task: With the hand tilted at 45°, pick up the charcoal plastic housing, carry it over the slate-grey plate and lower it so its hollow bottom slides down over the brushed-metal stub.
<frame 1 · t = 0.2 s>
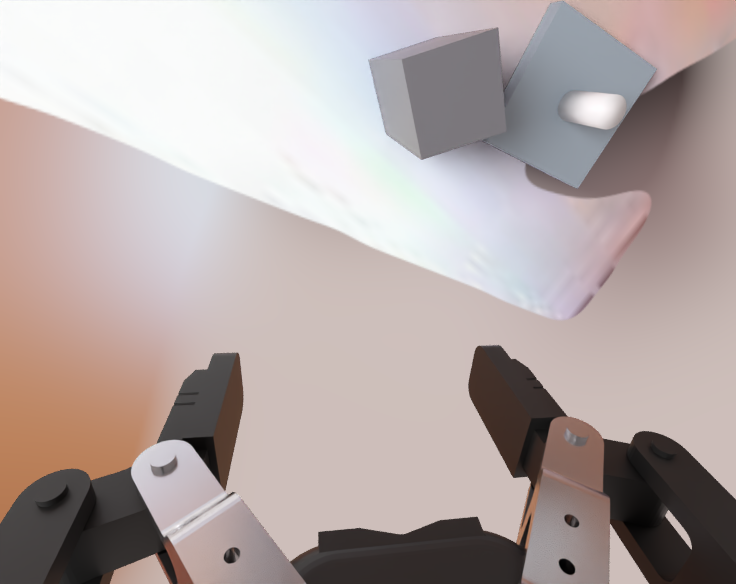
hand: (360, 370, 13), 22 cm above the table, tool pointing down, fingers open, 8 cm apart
stub base: (559, 104, 32), on the table
housing: (410, 87, 30), on the table
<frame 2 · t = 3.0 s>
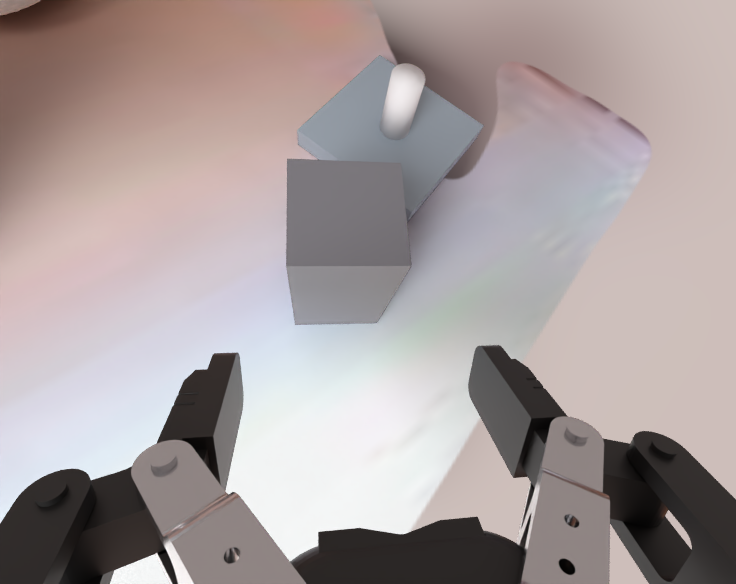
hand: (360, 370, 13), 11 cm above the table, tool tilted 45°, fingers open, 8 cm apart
stub base: (390, 141, 31), on the table
housing: (335, 285, 26), on the table
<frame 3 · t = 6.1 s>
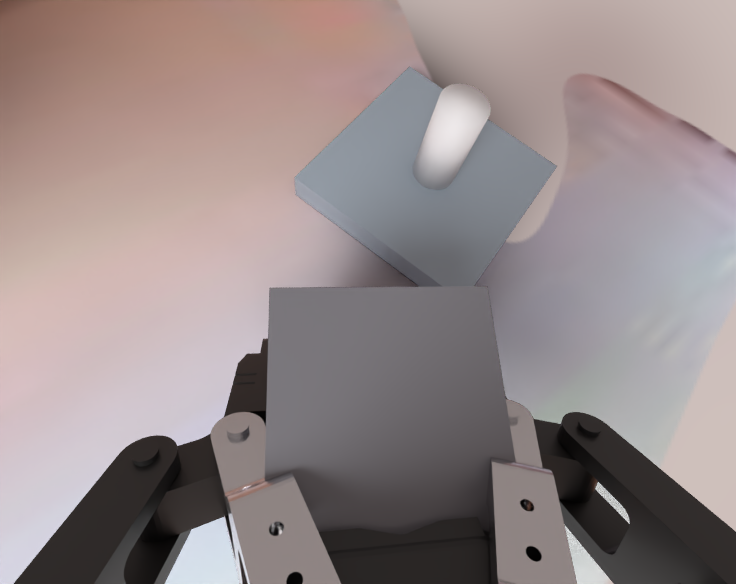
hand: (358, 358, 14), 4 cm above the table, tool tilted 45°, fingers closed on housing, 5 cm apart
stub base: (425, 188, 22), on the table
housing: (350, 416, 17), on the table, touching gripper
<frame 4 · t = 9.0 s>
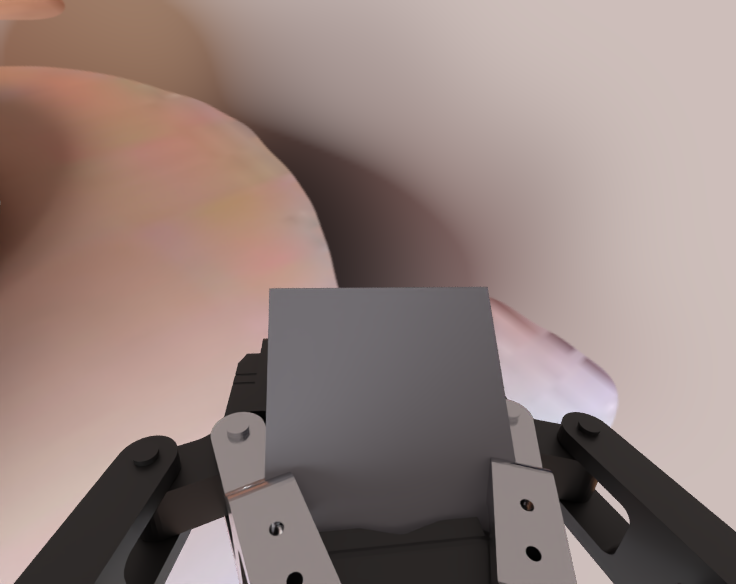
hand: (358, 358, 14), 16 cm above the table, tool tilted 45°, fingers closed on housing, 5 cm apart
housing: (350, 416, 17), point 12 cm above the table, touching gripper
when the fingers open (7 cm above the table, at t = 11.9 s): housing drops 1 cm, resting on stub base.
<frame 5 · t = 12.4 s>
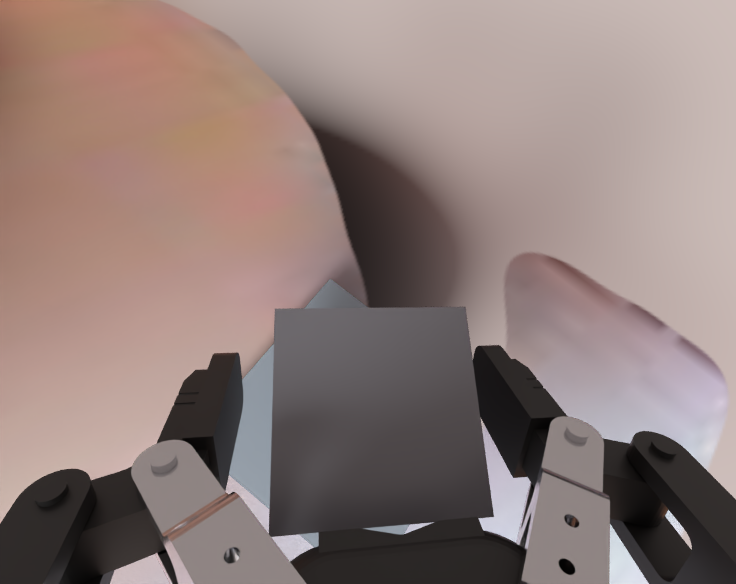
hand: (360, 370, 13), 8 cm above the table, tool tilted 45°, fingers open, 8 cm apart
stub base: (344, 418, 20), on the table
housing: (347, 418, 19), point 1 cm above the table, touching stub base
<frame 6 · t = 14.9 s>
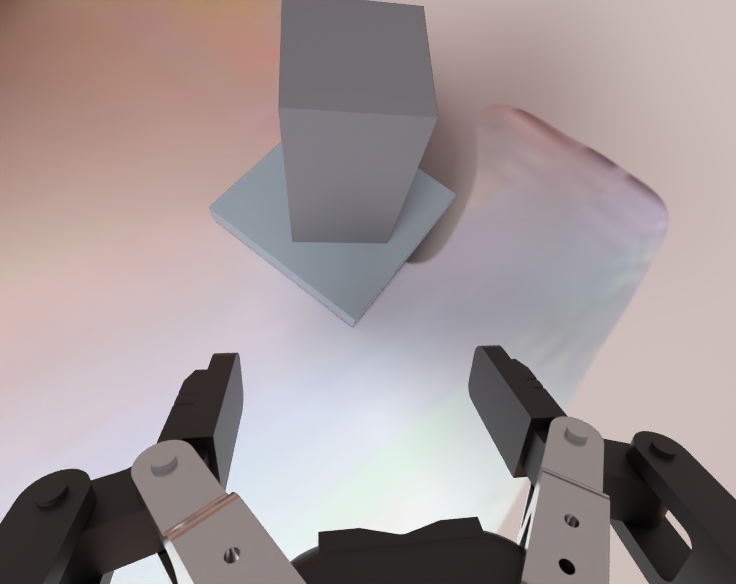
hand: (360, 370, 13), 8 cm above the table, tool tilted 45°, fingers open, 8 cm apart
stub base: (337, 214, 24), on the table
housing: (339, 201, 23), point 1 cm above the table, touching stub base
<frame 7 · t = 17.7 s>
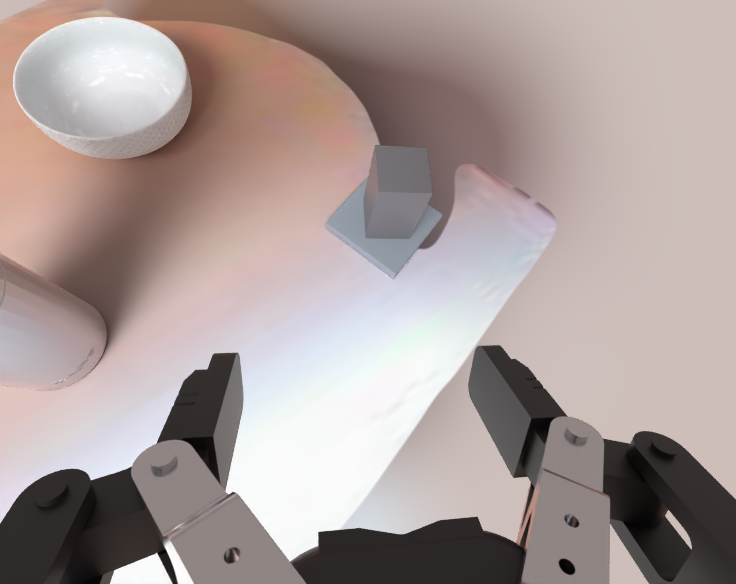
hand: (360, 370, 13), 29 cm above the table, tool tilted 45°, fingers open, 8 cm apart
cereal bowl: (131, 122, 48), on the table
stub base: (383, 224, 48), on the table
housing: (386, 218, 47), point 1 cm above the table, touching stub base
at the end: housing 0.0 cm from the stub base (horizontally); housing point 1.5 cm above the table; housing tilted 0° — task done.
